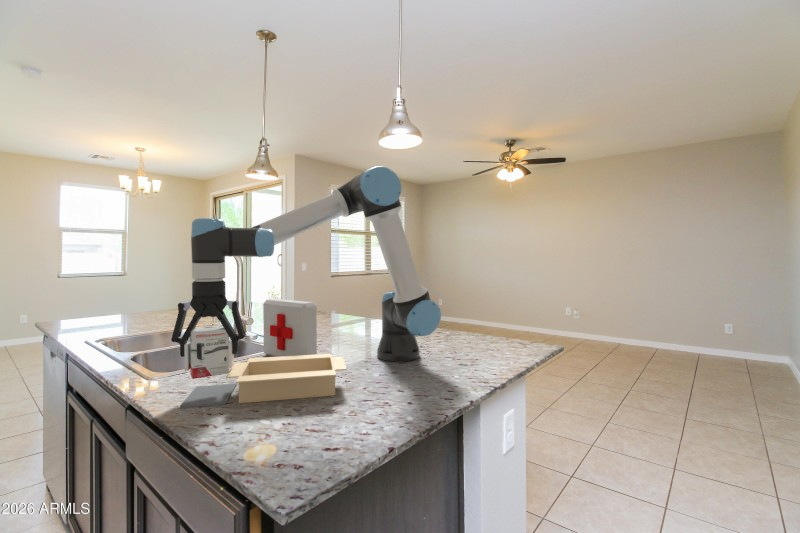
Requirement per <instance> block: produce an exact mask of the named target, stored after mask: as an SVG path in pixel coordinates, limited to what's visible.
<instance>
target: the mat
mask: <svg viewBox="0 0 800 533" xmlns="http://www.w3.org/2000/svg"><path fill="white" fill-rule="evenodd" d="M236 387H237V383H227V384H225V383H224V384H214V385H213V384H212V385H199V386H195V388H194V389H193V390H192V391H191V392H190V394H188V395H187V397H186V398H185V399H184V400H183V401H182V403H181V404H180V405H179V408H180V409H183V408H185V409H186V408H195V407H206V406H207V407H208V406H210V407H211V406H219V405H220V406H221V405H227V403H228V401H229V400H230V397H231V396H232V395H233V392H234V390H236Z"/></svg>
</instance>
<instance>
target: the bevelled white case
mask: <svg viewBox="0 0 800 533" xmlns="http://www.w3.org/2000/svg"><path fill="white" fill-rule="evenodd" d="M262 306H263V314H262V315H263V353H264V355H266V356H268V357H280V356H298V355H315V354H318V352H317V350H318V346H317V344H318V340H317V339H318V336H317V335H318V334H317V333H318V331H317V327H318V326H317V317H318V316H317V314H318V312H317V311H318V310H317V309H318V307H317V304H316V303H315V302H314V301H306V300H305V301H303V300H294V299H283V298H271V299H266V300H265V301H264V302H263V304H262Z"/></svg>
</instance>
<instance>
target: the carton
mask: <svg viewBox="0 0 800 533" xmlns="http://www.w3.org/2000/svg"><path fill="white" fill-rule="evenodd" d="M332 354H333V353H317V354H315V355H298V356H280V357H273V356H268V357H267V356H266V357H265V356H264V357H263V356H262V357H250V358H248V359H247V361H246V362H234V365H233V367H232V368H230V369H229V373H228V374H226V376H225V379H235V378H237V379H236V381H235V384H238V404H247V403H255V402H256V403H257V402H259V403H260V402H268V401H269V402H270V401H282V400H283V401H284V400H294V399H306V398H307V399H308V398H317V397H318V398H320V397H330V396H336V376H337V371H338V372H339V371H347V366H346V362H345V359H344V357H343V356H333V355H332Z"/></svg>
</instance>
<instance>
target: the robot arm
mask: <svg viewBox="0 0 800 533" xmlns="http://www.w3.org/2000/svg"><path fill="white" fill-rule="evenodd" d="M401 194H402V183H401V180H400V178H399V176H398V175H397V173H395V171H394V170H392V169H390V168H389V167H386V166H381V165H380V166H374V167H370V168H368V169H366V170H365V171H362V172H361V173H360V174H358V175H356V176H354V177H353V178H352V179H350V180H349V181H347V182H346V183H344V184H343V185H341V186H339V187H336V188H334V189H333V190H332V192H331V193H330V194H329V195H326V196H323V197H320V198H318V199H316V200H314V201H311V202H309V203H306V204H304V205H301V206H300V207H296V208H294V209H292V210H290V211H288V212H285V213H283V214H280V215H279V216H278V215H277V216H276V217H273V218H271V219H269V220H266V221H264V222H262V223H259V224H257V225H254V226H252V227H226V224H225V220H223V219H219V218H210V217H209V218H208V217H205V218H204V217H203V218H195V219H193V220H192V222H191V235H190V239H191V240H190V245H191V246H190V247H191V279H192V280H194V281H192V282H191V296H192V297H191V300H190V301H186V302H185V301H181V302H179V303H178V304H177V310H178V313H177V317H176V320H175V323H174V329H173V332H172V334H171V335H172V336H171V339H170V340H171V342H172V343H177V344H179V346H180V347H179V351H180V352H179V355H180V357H181V358H182V357H183V358H184V371H185V372H187V371H189V370H190V341H189V339H190V334H191V331H192V329H194V328H197V327H196V326H197V325H198V323H199V322H200V320H201V318H207V317H209V318H210V317H211V318H215V317H216V318H217V320H219V322H220V324H221V325H222V326H223V327H224V329H225V331H226V332H227V334H228V335H229V343H228V354H229V369H232V367H233V366H234V364H235V355H236V354H238V352H239V341H240V340H243V339H244V338H245V337H246V332H245V328H244V324H243V321H242V317H241V314H240V310H239V307H240V306H239V305H240V302H239V300H228V299H227V297H226V281H225V280H224V279H225V278H226V257H243V258H244V257H245V258H248V257H251V258H253V257H256V258H264V257H272V256H273V254H274V252H275V246H277V245H279V244H280V243H283V242H286V241H287V240H290V239H292V238H294V237H296V236H299V235H301V234H303V233H306V232H307V231H310V230H312V229H314V228H317V227H319V226H321V225H323V224H326V223H328V222H331V221H333V220H334V219H337V218H339V217H341V216H342V217H345V218H347V217H349V216H351V215H354V214H356V213H361V212H363V215H364V218H365V219H366V220H368V221H370V222H371V223H372V227H373V229H374V232H375V235H376V237H377V240H378V245H379V247H380V250H381V253H382V256H383V260H384V263H385V265H386V268H387V272H388V273H389V277H390V280H391V284H392V286H393V289H394V291H393V292H391V291H389V292H384V293H383V295H382V298H381V327H382V328H381V330H382V331H381V332H382V333H381V337H380V340H379V343H378V346H377V350H376V351H377V352H376V357H377V358H378V359H380V360H382V361H386V362H396V363H397V362H410V361H414V360H417V359H418V358H420V352H421V351H420V347H419V343H418V341H417V338H416V336H418V337H427V336H430V335H432V334H433V333H434V332H435V331H436V330H437V329H438V327H439V324H441V318H442V312H441V309H440V308H441V307H440V306H439V305H438V304H437V303H436V302H435V301H433V300H432V299H431V296H430V293H429V290H428V288H427V287H425V286H423V285H422V283H421V281H420V277H419V274H418V271H417V267H416V264H415V261H414V258H413V255H412V252H411V249H410V245H409V242H408V240H407V237H406V234H405V233H406V232H405V229H404V228H403V227H404V226H403V224H402V221H401V216H400V211H401V209H402V204H401V200H400V196H401ZM227 306H228V308H229V310H230V311H231V314H232V318H233V321H234V325H235V328H236V331H237V332H236V331H235V329H234V328H233V326H232V324H231V323H230V321H229V319H228V317H227V316H226V313H225V312H224V309H225V308H226V307H227ZM190 307H191V308H192V309H193V310H194V312H195V313H194V314H193V317H191V318H192V319H191V321H190V322H189V324H188V325H187V327H186V329H185V330H184V333H183V334H182V332H183V328H184V324H185V320H186V317H187V312H188V310H190Z"/></svg>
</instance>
